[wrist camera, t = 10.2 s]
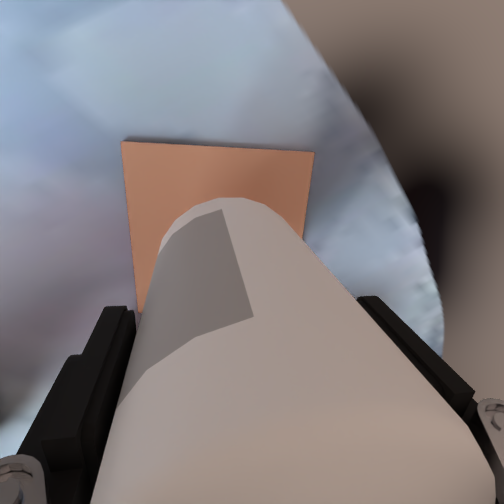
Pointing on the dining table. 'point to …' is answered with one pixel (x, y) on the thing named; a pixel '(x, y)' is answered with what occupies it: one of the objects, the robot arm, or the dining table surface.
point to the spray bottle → (273, 384)
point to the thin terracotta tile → (204, 189)
